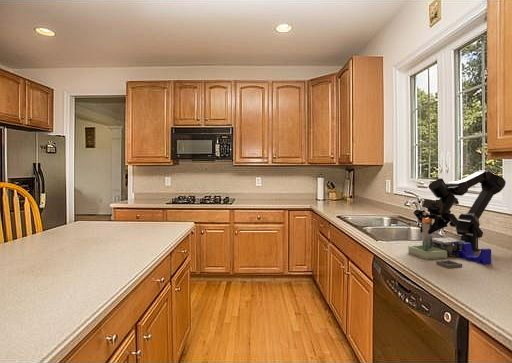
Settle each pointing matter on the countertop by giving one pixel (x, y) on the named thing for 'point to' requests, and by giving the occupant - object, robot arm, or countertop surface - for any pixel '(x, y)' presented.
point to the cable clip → (471, 256)
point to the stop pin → (426, 233)
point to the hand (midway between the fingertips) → (424, 232)
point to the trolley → (448, 245)
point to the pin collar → (453, 265)
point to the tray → (427, 252)
